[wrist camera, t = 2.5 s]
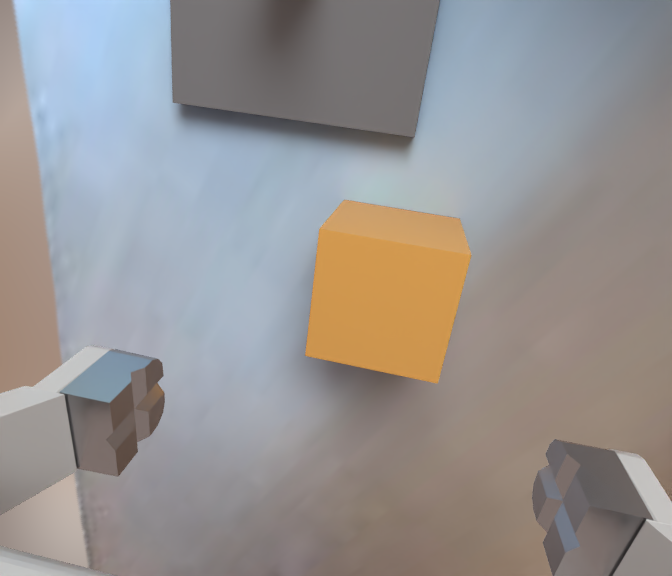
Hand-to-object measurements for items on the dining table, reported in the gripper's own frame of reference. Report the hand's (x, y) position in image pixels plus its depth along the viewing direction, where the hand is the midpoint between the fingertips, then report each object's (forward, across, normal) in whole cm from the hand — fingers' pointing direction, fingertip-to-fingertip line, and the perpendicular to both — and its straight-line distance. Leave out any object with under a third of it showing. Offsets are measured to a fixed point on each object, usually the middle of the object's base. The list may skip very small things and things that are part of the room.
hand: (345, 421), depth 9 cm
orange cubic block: (+12, 0, +1) cm, 12 cm away
